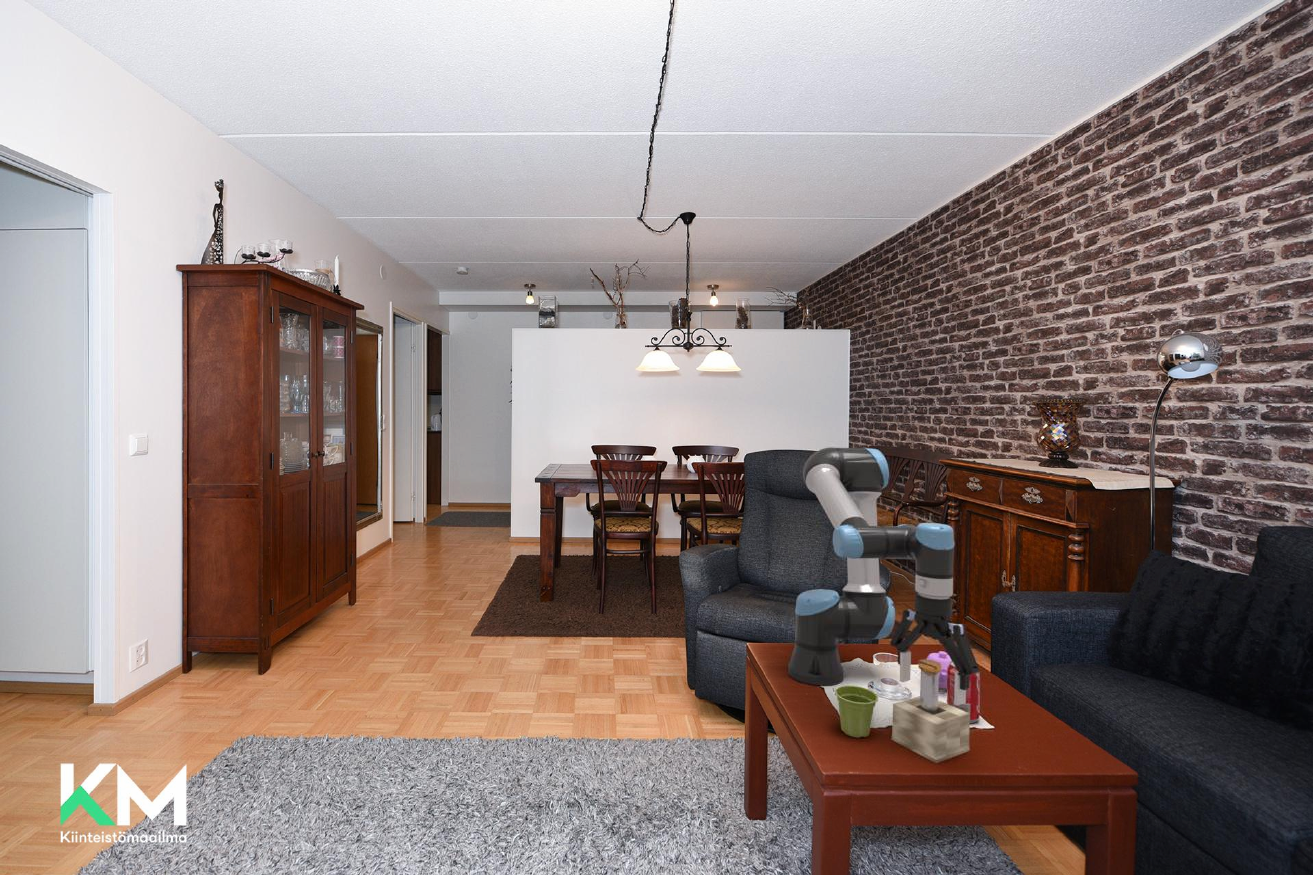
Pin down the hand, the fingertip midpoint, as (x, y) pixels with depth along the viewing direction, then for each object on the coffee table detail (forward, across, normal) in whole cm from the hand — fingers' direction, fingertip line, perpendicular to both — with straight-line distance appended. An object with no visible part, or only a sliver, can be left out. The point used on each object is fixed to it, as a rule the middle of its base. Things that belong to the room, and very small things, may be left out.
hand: (931, 691), depth 135 cm
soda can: (+12, -5, +19) cm, 23 cm away
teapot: (+12, -19, +31) cm, 38 cm away
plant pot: (+12, -12, -10) cm, 20 cm away
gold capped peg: (+11, 0, 0) cm, 11 cm away
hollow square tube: (+12, 0, 0) cm, 12 cm away
